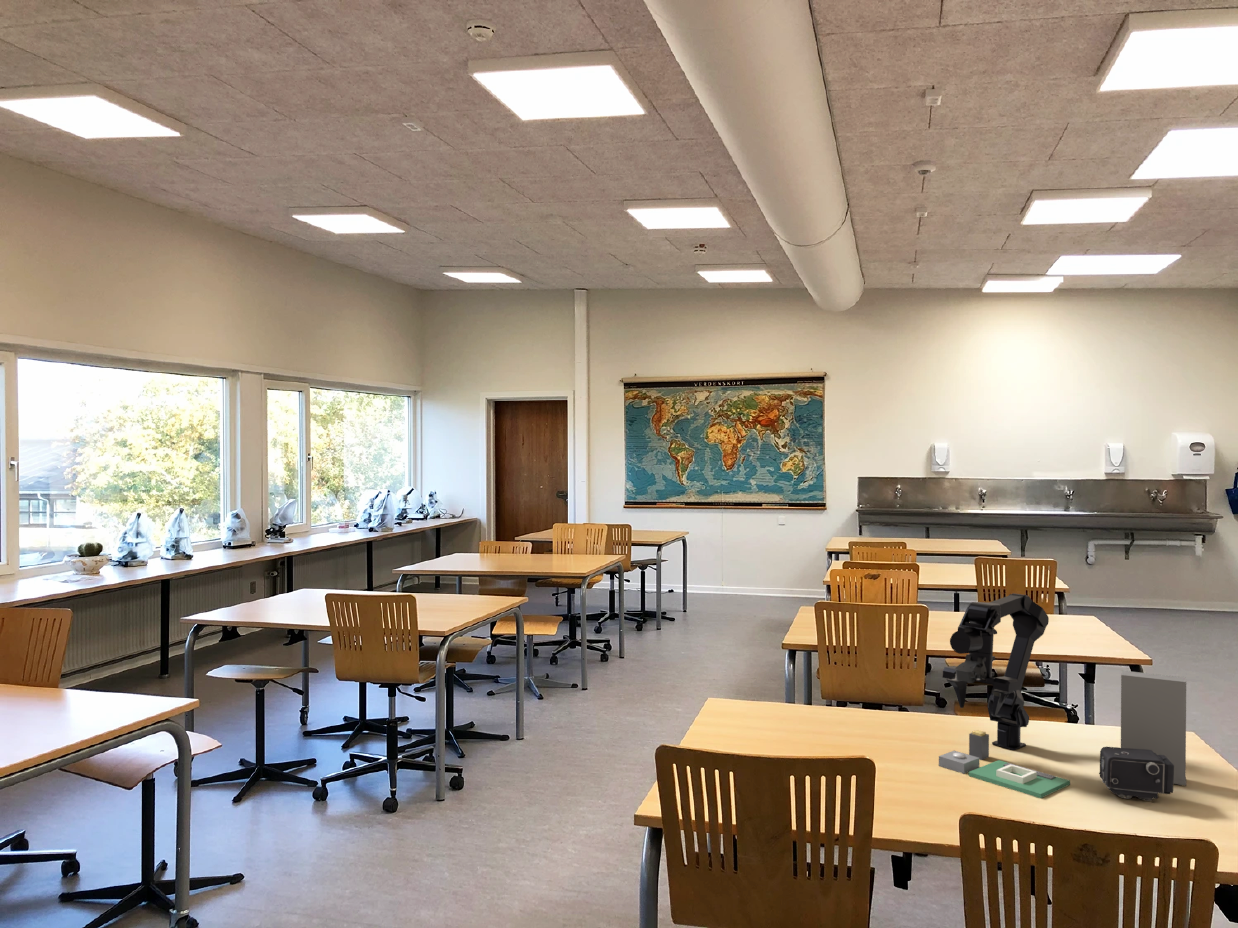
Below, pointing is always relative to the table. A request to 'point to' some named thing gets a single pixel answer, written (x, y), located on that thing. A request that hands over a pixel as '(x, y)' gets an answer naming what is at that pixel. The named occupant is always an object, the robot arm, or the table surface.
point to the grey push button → (959, 762)
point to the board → (1019, 778)
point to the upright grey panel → (1155, 717)
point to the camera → (1136, 772)
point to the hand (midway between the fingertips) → (978, 711)
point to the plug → (979, 744)
